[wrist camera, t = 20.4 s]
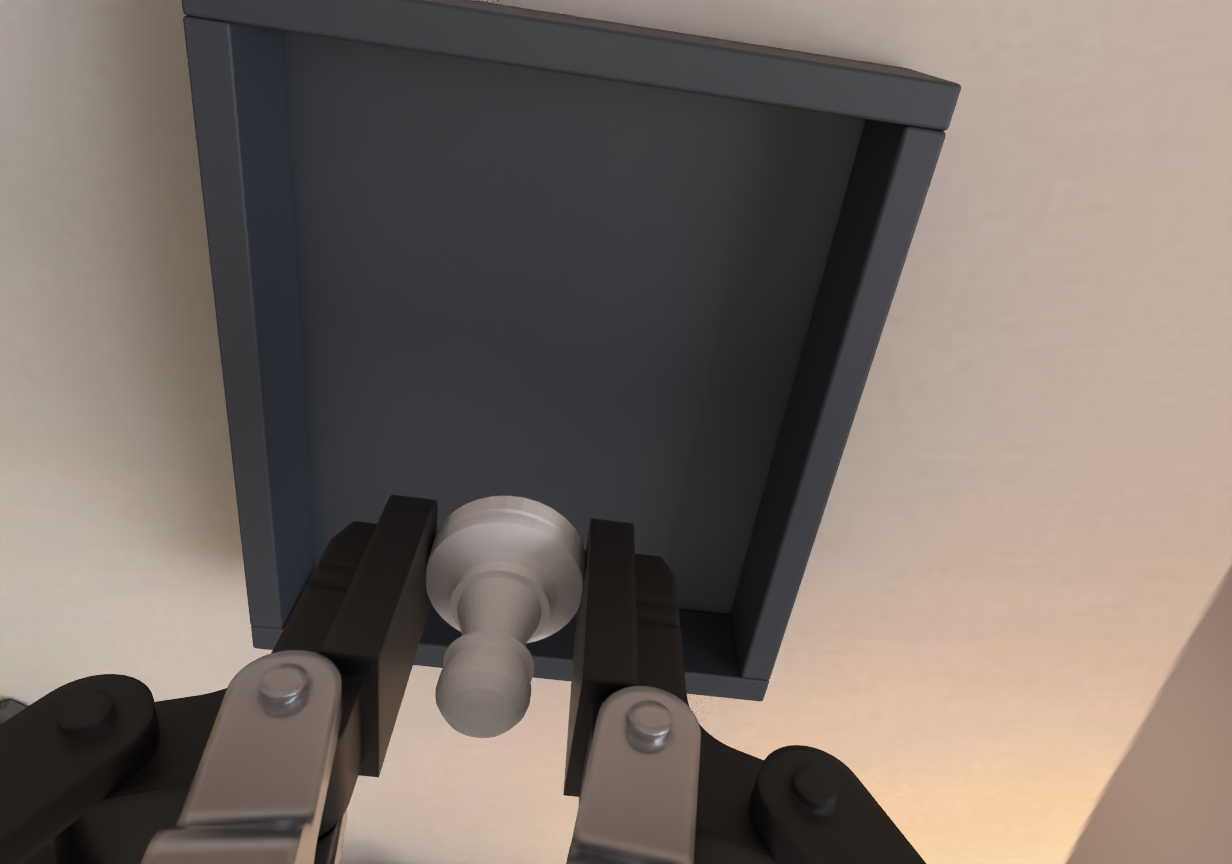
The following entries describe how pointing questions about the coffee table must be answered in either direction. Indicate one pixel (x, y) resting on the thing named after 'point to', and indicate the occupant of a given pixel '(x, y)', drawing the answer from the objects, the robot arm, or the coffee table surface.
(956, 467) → the coffee table surface
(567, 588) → the chess pawn
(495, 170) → the charcoal tray
